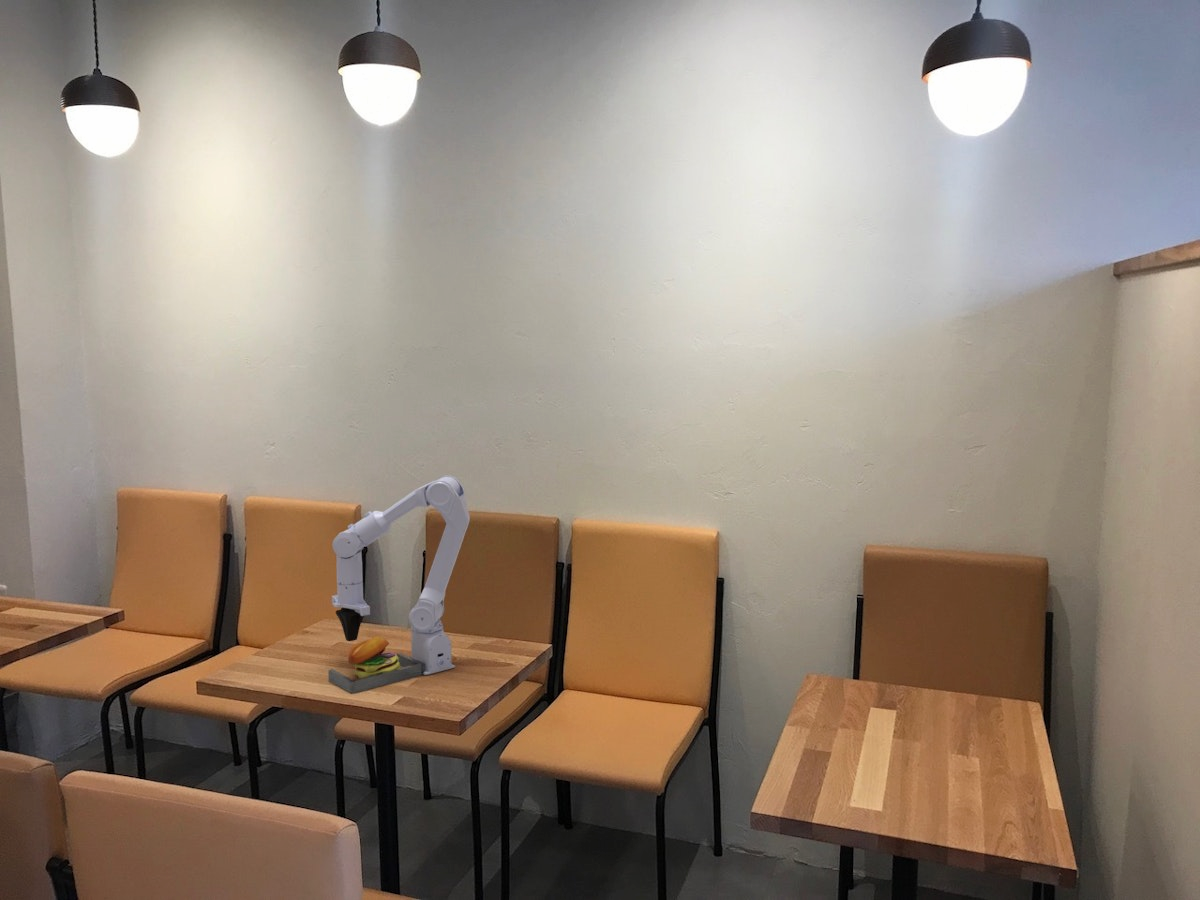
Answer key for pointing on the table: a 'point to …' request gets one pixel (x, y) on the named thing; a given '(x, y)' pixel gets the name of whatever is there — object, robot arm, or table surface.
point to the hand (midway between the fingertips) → (351, 640)
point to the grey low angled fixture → (379, 676)
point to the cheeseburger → (372, 657)
